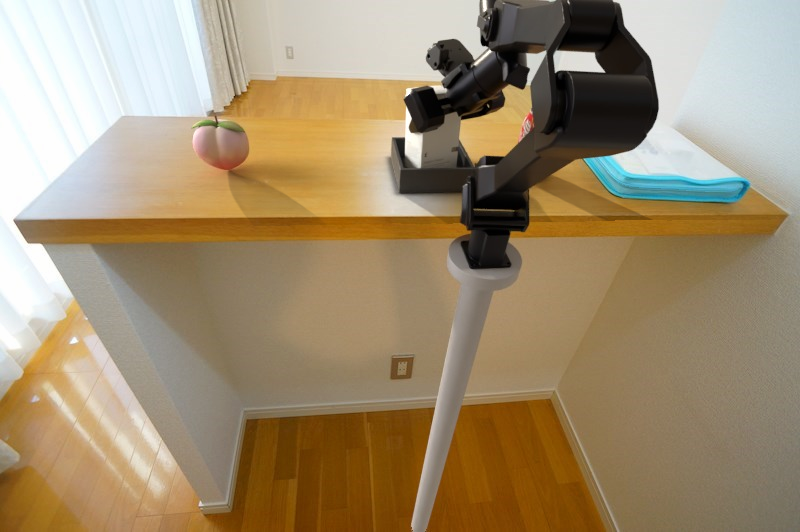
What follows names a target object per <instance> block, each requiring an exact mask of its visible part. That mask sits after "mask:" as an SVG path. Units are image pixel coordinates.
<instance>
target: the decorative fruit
mask: <svg viewBox="0 0 800 532" xmlns="http://www.w3.org/2000/svg"><path fill="white" fill-rule="evenodd" d="M195 128H196V129H195ZM193 129H195V131H194V132H193V136H192V147H193V150H194V153H195V154H196V156H197V157H198V158H199V159H200V160H202V161H203V162H204V163H206V164H208V165H209V166H211V167H212V168H216V169H218V170H223V171H231V170H233V169H236V168H237V167H239V166H241V165H242V164H243V163H244V162H245V161H246V160H247V158H248V157H249V153H250V142H249V141H250V140H249V137H248V134H247V132H246V131H245V129H244V128H243V127H242V125H240V124H239V123H238V122H235V121H234V120H233V121H232V120H229V119H220V118H219V119H218V116H217V115H214V119H203V120H199V121H197V122H196V123H194V124H193V125H192V126H191V130H193Z"/></svg>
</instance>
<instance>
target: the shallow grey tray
mask: <svg viewBox="0 0 800 532" xmlns="http://www.w3.org/2000/svg"><path fill="white" fill-rule="evenodd" d="M390 143H391V144H390V145H391V147H390V161H391V165H392V169H393V172H394V177H395V181H396V185H397V190H398V193H399V194H415V193H416V194H417V193H422V194H424V193H462V187H463V186H464V184H465V182H466V179H467V177H468V176H470V175H471V172H472V170H473V169H475V164H474V163H473V161H472V160H471V157H470V156H469V154H468V152H467V150H466V149H465V147H464V145H463V143H462V142H461V140H460V139H459V144H458V155H457V165H456V168H405V136H402V137H401V136H400V137H399V136H398V137H397V136H395V137H393V136H391V142H390Z"/></svg>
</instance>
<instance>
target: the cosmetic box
mask: <svg viewBox="0 0 800 532" xmlns="http://www.w3.org/2000/svg"><path fill="white" fill-rule="evenodd" d="M429 86H430V87H432V88H434V91H435V93H436V95H437V98H438V100H439V99H443V98H447V96H446V91H447V89H446V88H445V89H444V87H443V85H442V84H440V85H429ZM418 87H419V86H417V87H415V88H418ZM413 88H414V87H409V88H406V90H405V95H406V94H407V93H408V92H409V91H410V89H413ZM411 119H412V118H411V116H410V113H409V111H408V109H407V107H406V106H405V133H404V135H405V136H404V137H405V168H456V165H457V155H458V144H459V140H460V133H461V123H462V120H461V117H458V114H457V112H456V113H452V114H449V115H445V120H444V124H443V125H441V126H440V127H438V129H436V130H433V131H429V132H426V133H420V132H417V133H411V132H410V130H409V124H410V122H411Z"/></svg>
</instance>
